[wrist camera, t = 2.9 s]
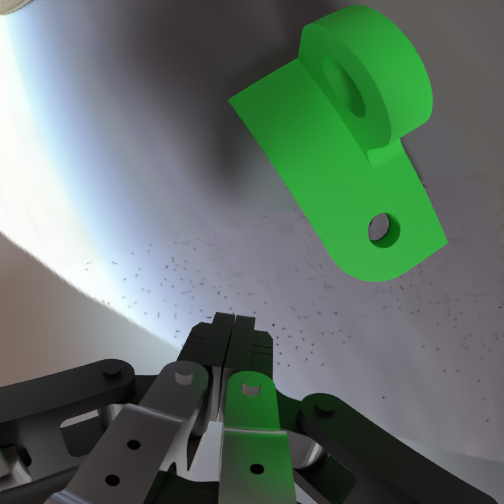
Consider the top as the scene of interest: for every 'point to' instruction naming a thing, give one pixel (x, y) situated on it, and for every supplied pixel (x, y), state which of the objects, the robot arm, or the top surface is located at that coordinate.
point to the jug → (11, 5)
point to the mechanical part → (350, 139)
